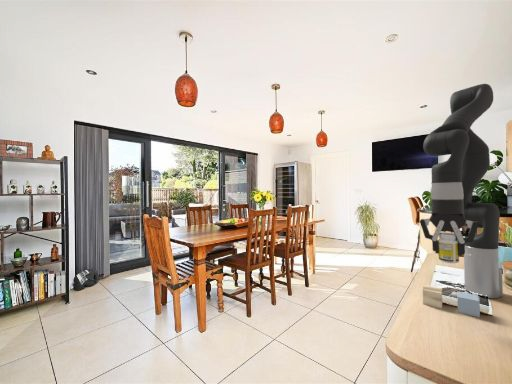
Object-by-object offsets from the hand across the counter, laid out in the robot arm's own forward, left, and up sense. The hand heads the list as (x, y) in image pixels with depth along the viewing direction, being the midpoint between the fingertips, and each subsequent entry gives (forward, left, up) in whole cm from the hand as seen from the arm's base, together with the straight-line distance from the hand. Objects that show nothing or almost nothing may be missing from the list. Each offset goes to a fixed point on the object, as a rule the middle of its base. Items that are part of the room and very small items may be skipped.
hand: (448, 253), depth 70 cm
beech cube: (-1, -9, -19) cm, 21 cm away
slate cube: (-8, -4, -19) cm, 21 cm away
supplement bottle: (0, 0, -2) cm, 2 cm away
